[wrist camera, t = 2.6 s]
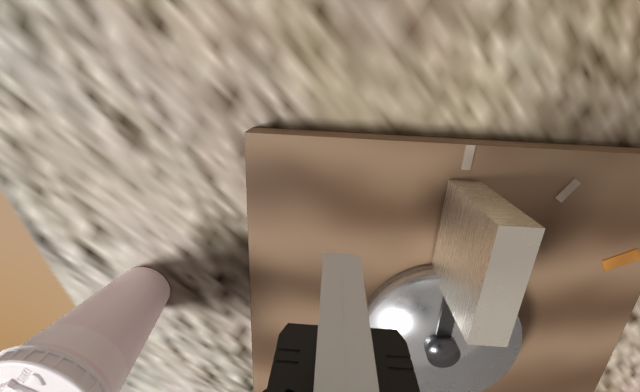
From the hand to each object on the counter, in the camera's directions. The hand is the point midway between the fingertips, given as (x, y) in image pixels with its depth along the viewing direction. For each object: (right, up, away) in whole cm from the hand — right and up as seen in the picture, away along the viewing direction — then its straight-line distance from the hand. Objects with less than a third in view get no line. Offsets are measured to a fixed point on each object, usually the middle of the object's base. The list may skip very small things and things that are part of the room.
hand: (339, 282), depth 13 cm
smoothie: (-14, -3, +11) cm, 18 cm away
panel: (+7, -3, +10) cm, 12 cm away
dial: (+7, -3, +7) cm, 11 cm away
